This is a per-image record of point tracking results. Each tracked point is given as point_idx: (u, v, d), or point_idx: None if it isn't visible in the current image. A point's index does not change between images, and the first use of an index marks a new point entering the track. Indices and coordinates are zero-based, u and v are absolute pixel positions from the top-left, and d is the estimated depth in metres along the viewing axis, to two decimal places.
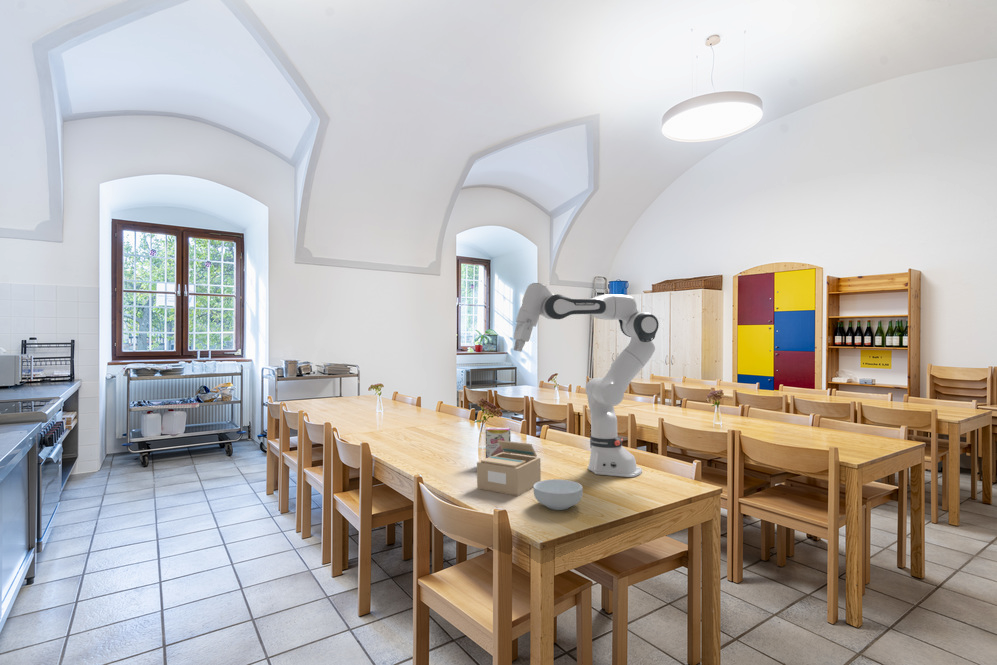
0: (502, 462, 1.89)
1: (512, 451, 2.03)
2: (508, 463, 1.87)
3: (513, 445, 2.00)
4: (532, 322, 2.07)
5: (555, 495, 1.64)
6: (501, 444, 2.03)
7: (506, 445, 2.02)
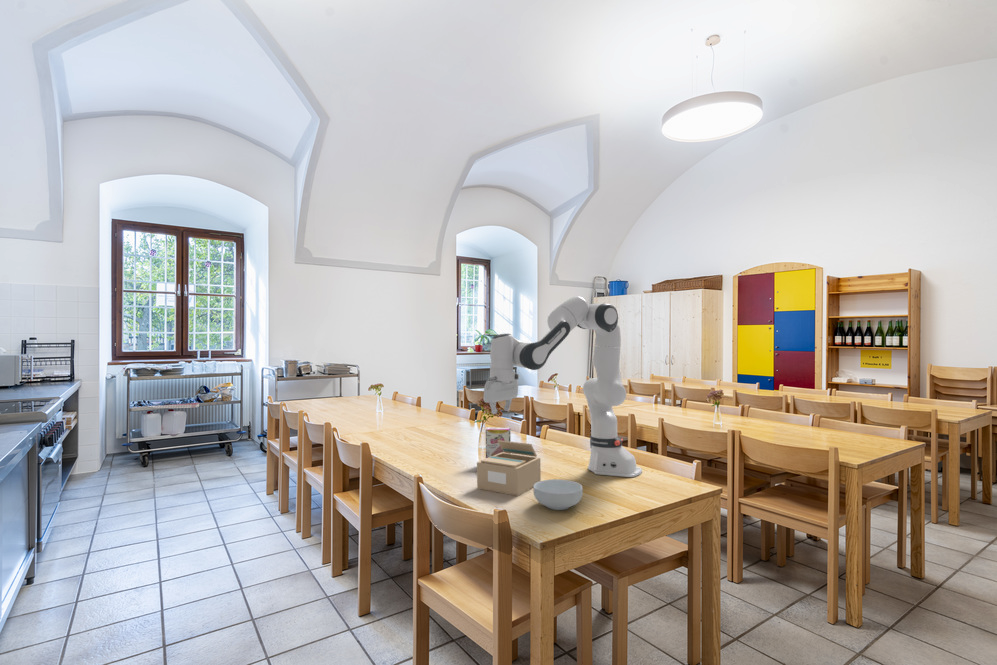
0: (502, 462, 1.89)
1: (512, 451, 2.03)
2: (508, 463, 1.87)
3: (513, 445, 2.00)
4: (500, 379, 1.88)
5: (555, 495, 1.64)
6: (501, 444, 2.03)
7: (506, 445, 2.02)
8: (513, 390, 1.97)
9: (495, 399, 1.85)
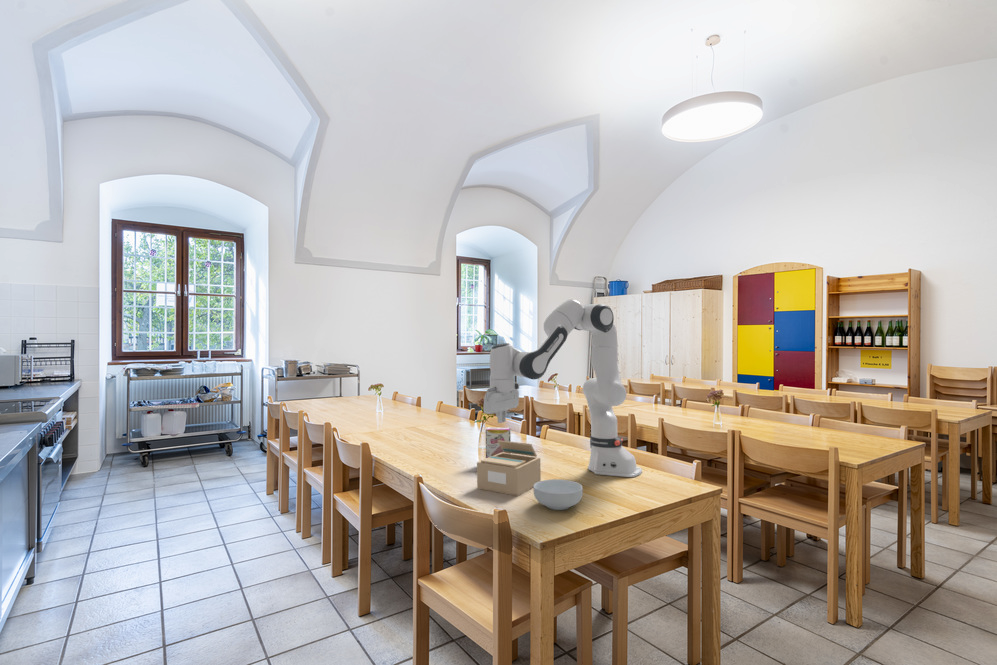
0: (502, 462, 1.89)
1: (512, 451, 2.03)
2: (508, 463, 1.87)
3: (513, 445, 2.00)
4: (500, 389, 1.86)
5: (555, 495, 1.64)
6: (501, 444, 2.03)
7: (506, 445, 2.02)
8: (514, 400, 1.95)
9: (495, 410, 1.84)
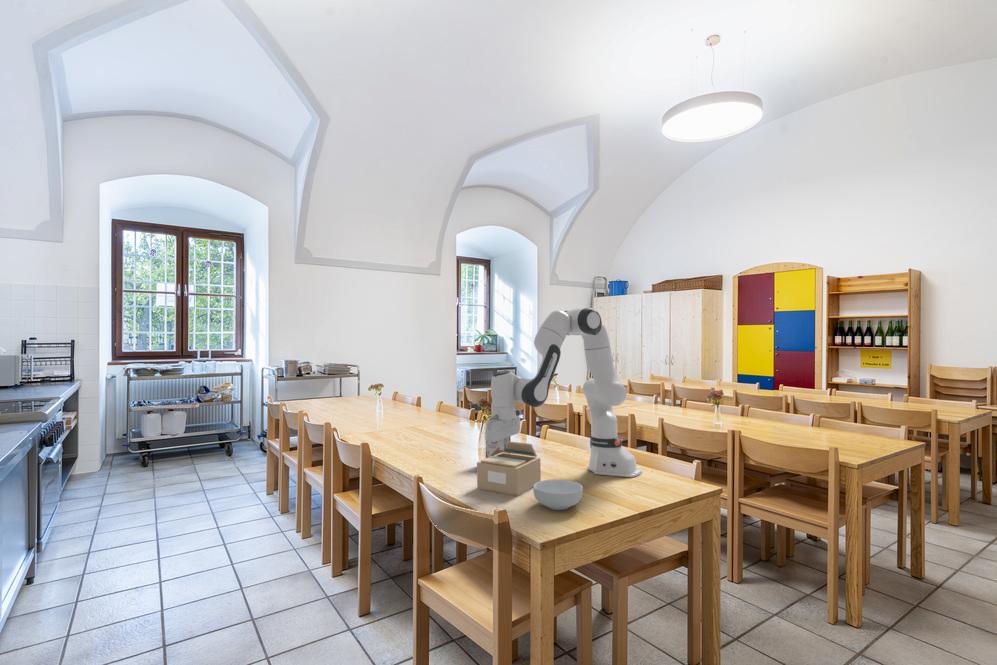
0: (502, 462, 1.89)
1: (512, 451, 2.03)
2: (508, 463, 1.87)
3: (513, 445, 2.00)
4: (501, 417, 1.87)
5: (555, 495, 1.64)
6: None
7: None
8: (515, 426, 1.96)
9: (497, 438, 1.84)
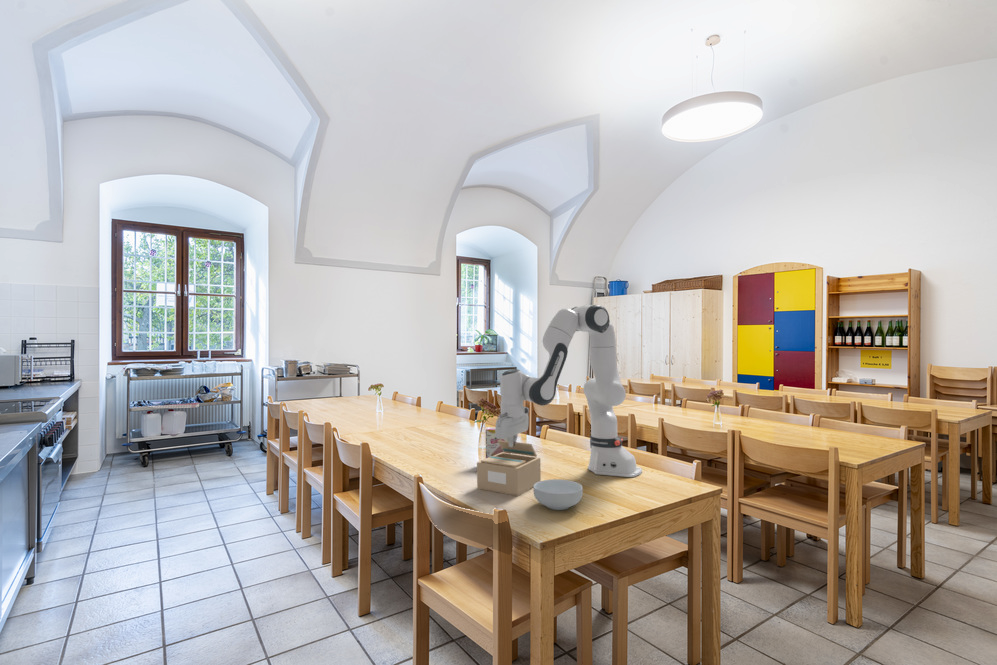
0: (502, 462, 1.89)
1: (512, 451, 2.03)
2: (508, 463, 1.87)
3: None
4: (510, 415, 1.93)
5: (555, 495, 1.64)
6: (501, 444, 2.03)
7: (506, 445, 2.02)
8: (524, 423, 2.02)
9: (506, 435, 1.90)
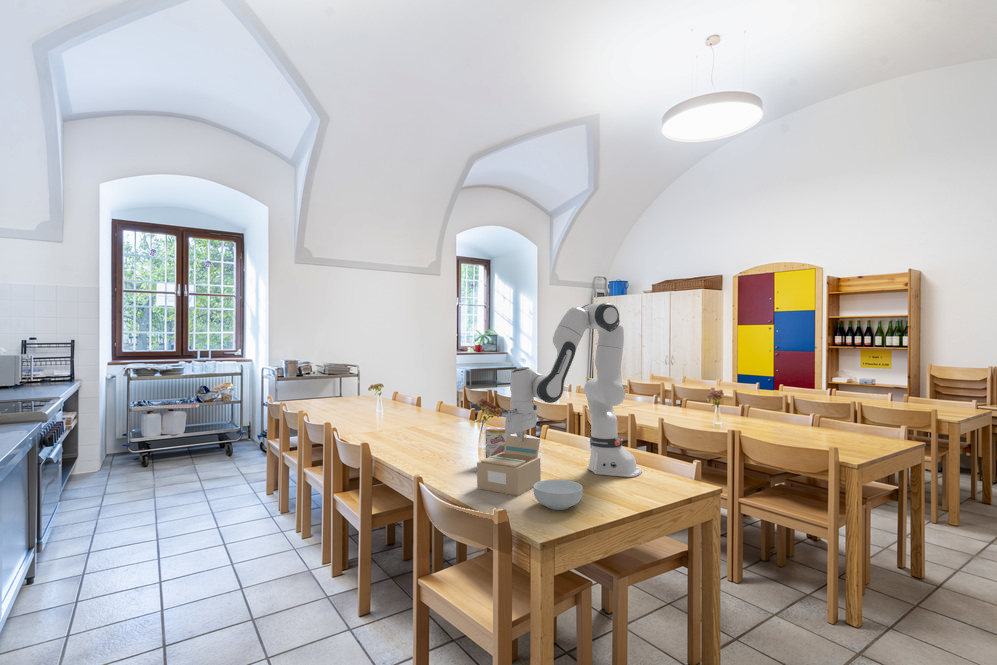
0: (502, 462, 1.89)
1: (514, 450, 2.04)
2: (508, 463, 1.87)
3: None
4: (520, 410, 1.99)
5: (555, 495, 1.64)
6: (508, 440, 2.08)
7: (513, 441, 2.06)
8: (532, 420, 2.08)
9: (516, 430, 1.96)
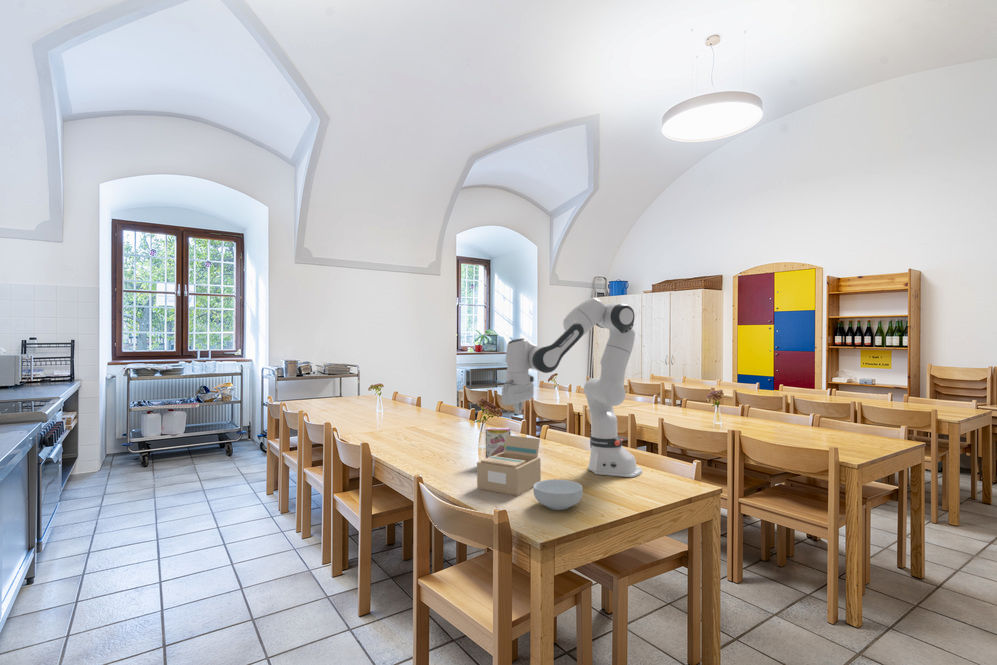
0: (502, 462, 1.89)
1: (514, 450, 2.04)
2: (508, 463, 1.87)
3: (520, 440, 2.04)
4: (516, 382, 1.97)
5: (555, 495, 1.64)
6: (508, 440, 2.07)
7: (513, 441, 2.06)
8: (529, 392, 2.06)
9: (512, 401, 1.95)
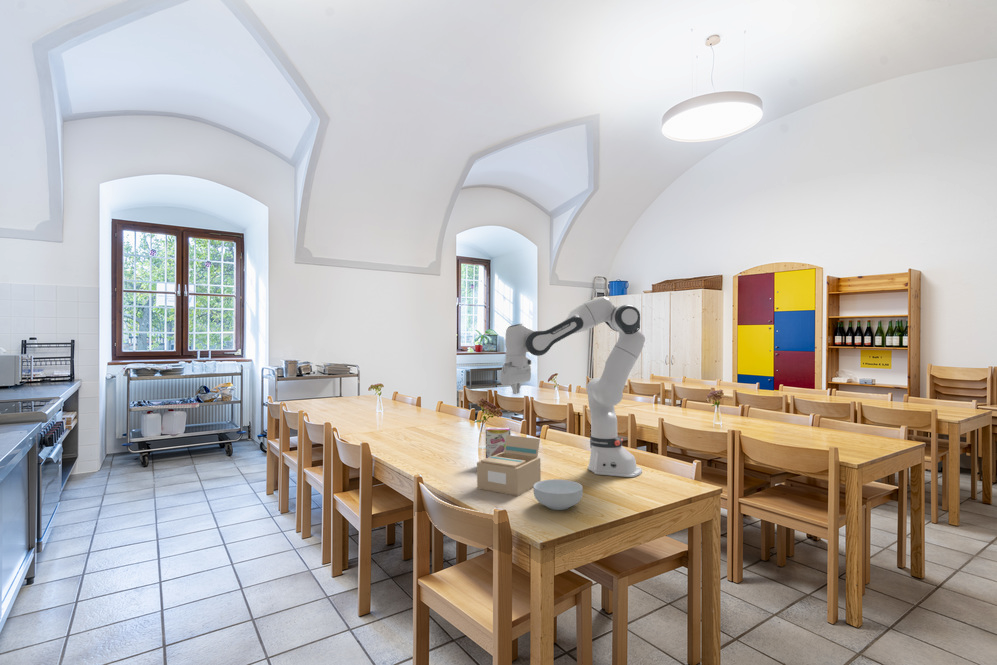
0: (502, 462, 1.89)
1: (514, 450, 2.04)
2: (508, 463, 1.87)
3: (520, 440, 2.04)
4: (514, 364, 2.12)
5: (555, 495, 1.64)
6: (508, 440, 2.07)
7: (513, 441, 2.06)
8: (526, 374, 2.21)
9: (511, 382, 2.09)
